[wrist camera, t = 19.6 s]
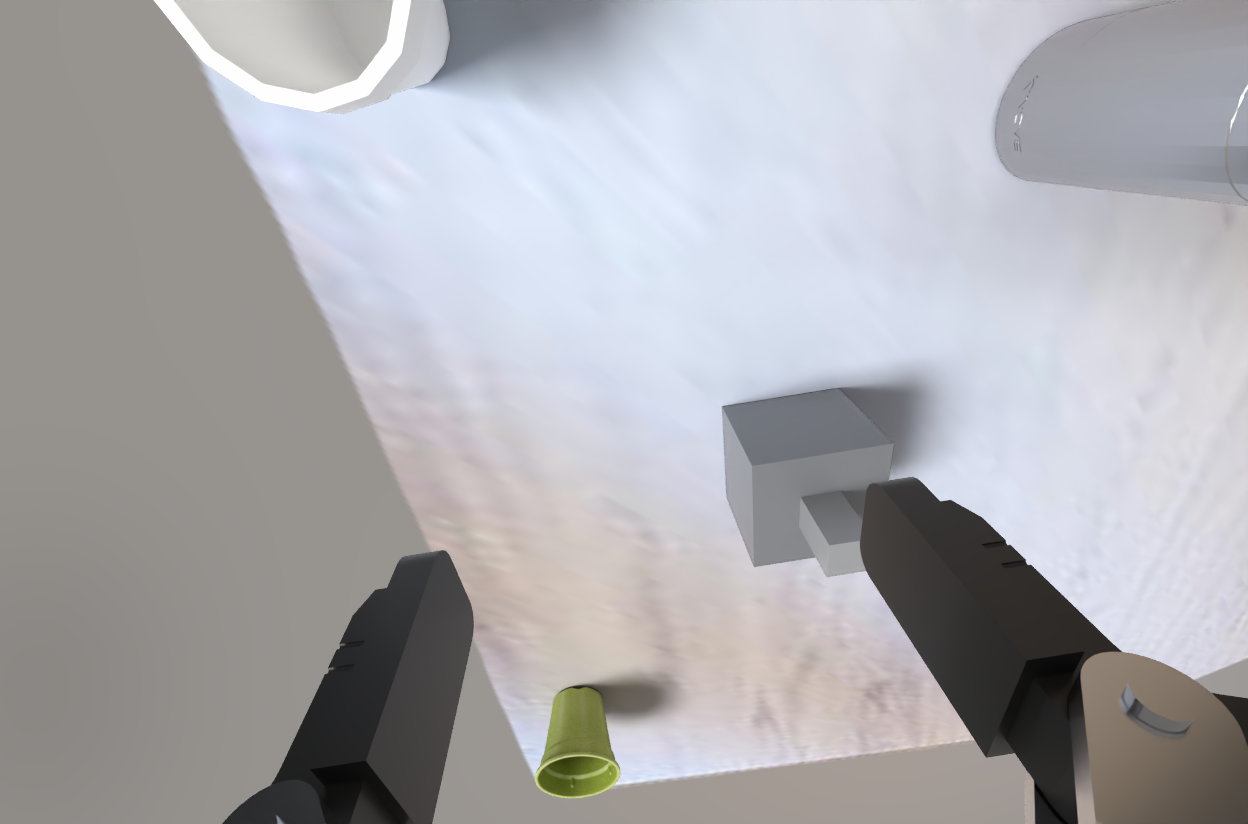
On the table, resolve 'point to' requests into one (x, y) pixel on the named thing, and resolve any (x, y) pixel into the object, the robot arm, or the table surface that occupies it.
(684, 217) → the table surface
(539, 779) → the plant pot
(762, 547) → the grey block with knob
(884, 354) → the table surface
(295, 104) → the foam cup
